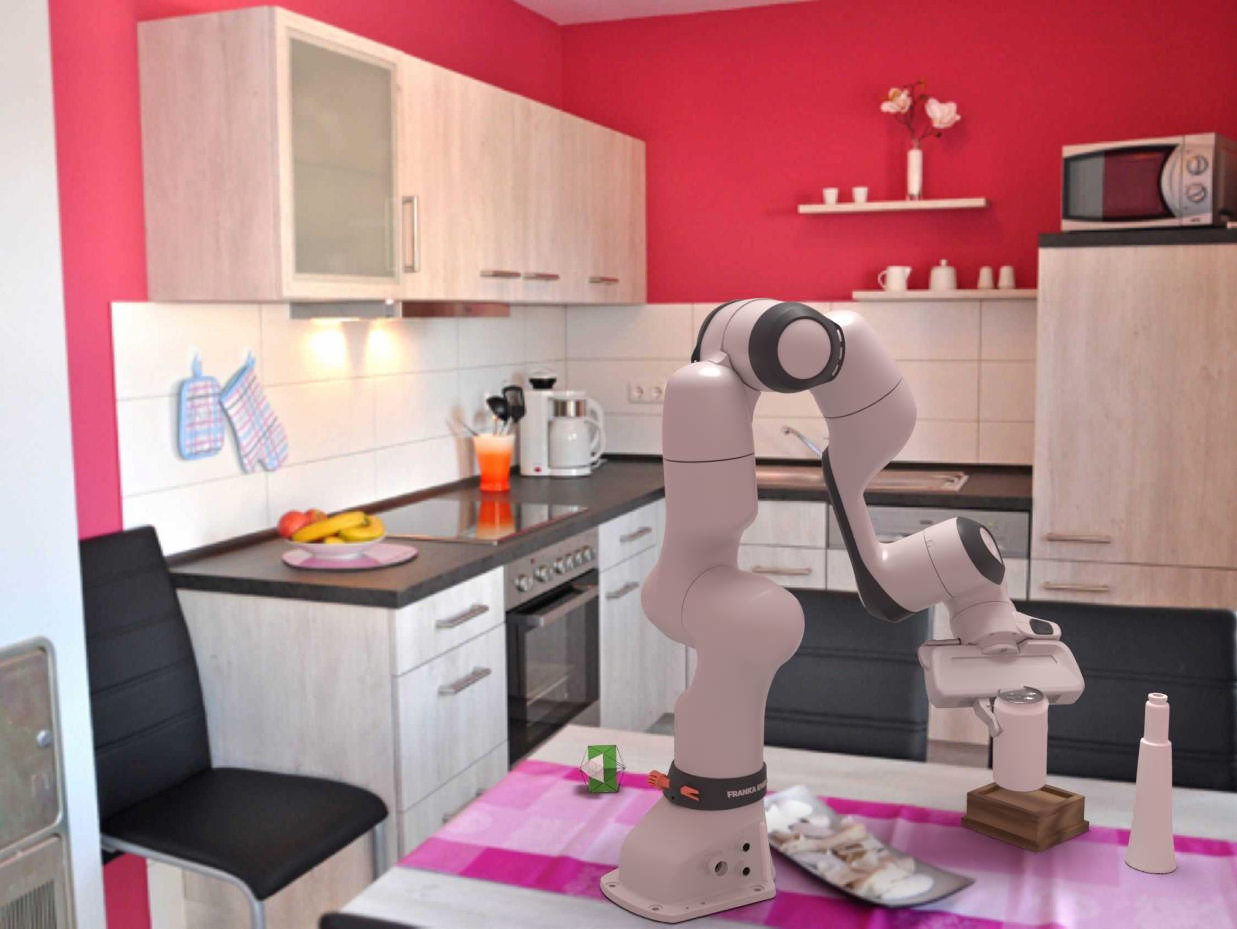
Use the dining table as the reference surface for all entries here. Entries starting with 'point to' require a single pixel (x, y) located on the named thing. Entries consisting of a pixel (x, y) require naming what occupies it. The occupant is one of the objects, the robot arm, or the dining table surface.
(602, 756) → the geometric puzzle
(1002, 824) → the pedestal
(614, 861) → the dining table surface
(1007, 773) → the can
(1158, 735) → the pink bottle
